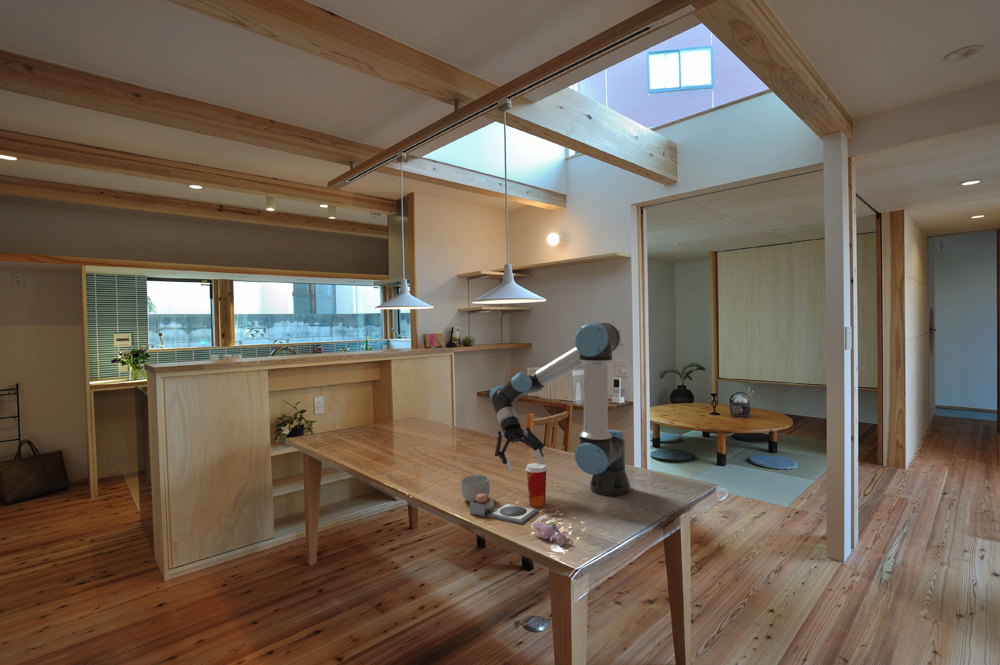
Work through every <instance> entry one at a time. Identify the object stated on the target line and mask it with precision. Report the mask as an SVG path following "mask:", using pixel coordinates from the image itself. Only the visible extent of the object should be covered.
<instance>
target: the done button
mask: <svg viewBox="0 0 1000 665" xmlns="http://www.w3.org/2000/svg"><path fill="white" fill-rule="evenodd" d="M487 498H488V497H487V494H484V493H480V494H477V495H476V503H480V504H485V503H487Z"/></svg>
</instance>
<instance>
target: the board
mask: <svg viewBox="0 0 1000 665" xmlns="http://www.w3.org/2000/svg"><path fill="white" fill-rule="evenodd" d="M537 513H539V509H538V508H537V509H536V508H534V507H533V508H532V507H527V506H522V505H516V504H512V503H508V502H507V503H504V504H502V505H501V506H499V507H498V508H496V509H494V511H493V512H491V513H490V514H488V515H487V518H489V517H490V518H491V519H494V518H495V520H499V521H503V522H507V523H513V524H518V525H523V524H525V522H527V521H528V520H530V519H531V518H532V517H533V515H534V516H535V515H537Z"/></svg>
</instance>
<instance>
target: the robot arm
mask: <svg viewBox="0 0 1000 665" xmlns="http://www.w3.org/2000/svg"><path fill="white" fill-rule="evenodd" d="M620 342H621V334H620V331H619V330H618V328H617V327H616V326H614V325H613V324H611V323H609V322H589V323H586V324H584V325H582V326H581V327H579V329H578V330H577V331H576V333H575V336H574V345H575V347H573V348H571V349H569V350H568V351H566V352H564V353H562V354H561V355H560V356H558V357H557V358H555V359H553V360H551V361H550V362H548V363H546V364H545V365H543V366H542V367H540V368H538V369H537V370H535V371H533V372H532V373H530V374H526V373H524V372H522V371H521V372H517V373H516V374H515V375H514V376H513V377H512V378H511V379H510V380H509V381H508V382H507V383H506V384H505V385H504V386H503V385H498V386H496V387H495V388H494V387H493V388H492V389H491V390H490V392H489V398H490V402H491V404H492V406H493V409H494V411H495V414H496V418H497V420H498V423H499V424H500V428H501V431H502V432H501V431H500V430H499V431H498V432H496V435H495V436H496V443H495V444H496V445H495V452H494V456H495V457H498V458H499V459H501V462H502V464H503V465H505V467H506V470H507V472H508V474H510V473H512V471H513V467H512V464H511V461H510V459H509V456H508V453H506V451H507V449H508V446H509V444H510V443H519V442H521V443H522V444H525V445H526V446H527V447H530V449H532V450H534V454H535V456H536V460H537V461H538V462H537V463H539V464H545V465H546V462H545V459H544V453H543V449H544V447H545V444H544V443H543V442H542V441H541V440H540V439H539V438H538V437H537V436H536V435H535V434H534V433H533V432H532V431H531V429H530V428H529V427H526V429H522V425H521V423H520V420H519V419H518V418H519V417H518V415H517V413H516V410H515V408H514V406H513V404H514V403H515V402H516V401H517V400H518V399H520V397H522V396H526V395H529V394H532V393H538V392H540V391H542V390H543V389H544V388H545V387H546V386H548V385H550V384H551V383H553V382H555V381H556V380H558V379H560V378H562V377H563V376H566V375H567V374H569V373H570V372H572V371H574V370H576V369H578V368H579V367H581V366H582V365H583V429H582V431H580V432H579V445H578V446H577V447H576V450H575V452H574V460H575V463H576V465H577V467H579V469H580V470H581V471H582V472H584V473H585V474H588V475H592V476H591V480H590V483H589V484H590V485H589V487H590V490H591V491H592V492H593V493H595V494H598V495H600V496H601V495H602V496H607V497H608V496H610V497H611V496H613V497H615V496H624V495H627V494H629V493H630V492H631V483H630V481H629V478H628V477H629V476H628V475H627V472H626V456H625V455H626V454H625V453H626V452H625V448H626V447H625V446H626V445H625V442H626V440H625V433H624V432H623V431H622V430H616V429H608V428H609V420H608V419H609V416H608V414H609V413H608V404H609V400H608V399H609V398H608V397H609V395H608V394H609V393H608V392H609V391H608V388H609V387H608V386H609V385H608V384H609V382H608V381H609V379H608V378H609V369H608V368H609V365H610V363H611V362H612V361H613V352H614V351H615V350H616V349H617V348H618V347H619V345H620ZM503 438H505V439H506V441H505V444H504V446H503V447H502V450H501V444H502V439H503Z"/></svg>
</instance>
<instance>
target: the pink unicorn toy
mask: <svg viewBox="0 0 1000 665" xmlns="http://www.w3.org/2000/svg"><path fill="white" fill-rule="evenodd" d="M529 524H530V526H532V527H533V528H535V530H537V531H538V532H539V533H540V535H541V537H542V538H544V540H547V539H549V541H550V542H553V541H554V542H556V543H557V544H558V546H559V547H561V546H563V547H564V546H565V549H566V548H568V544H569V543H570V542H571V544H570V546H573V545H574V543H573V540H572V539H571V538H570V537H569V538H568V536H566V534H565V533H562V532H561V531H560V529H559V528H558V526H557V525H558V524H557V523H555V522H553V523H552V525H550V524H546V523H545V522H543V521H534V522H533V523H529ZM565 544H566V545H565Z"/></svg>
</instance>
